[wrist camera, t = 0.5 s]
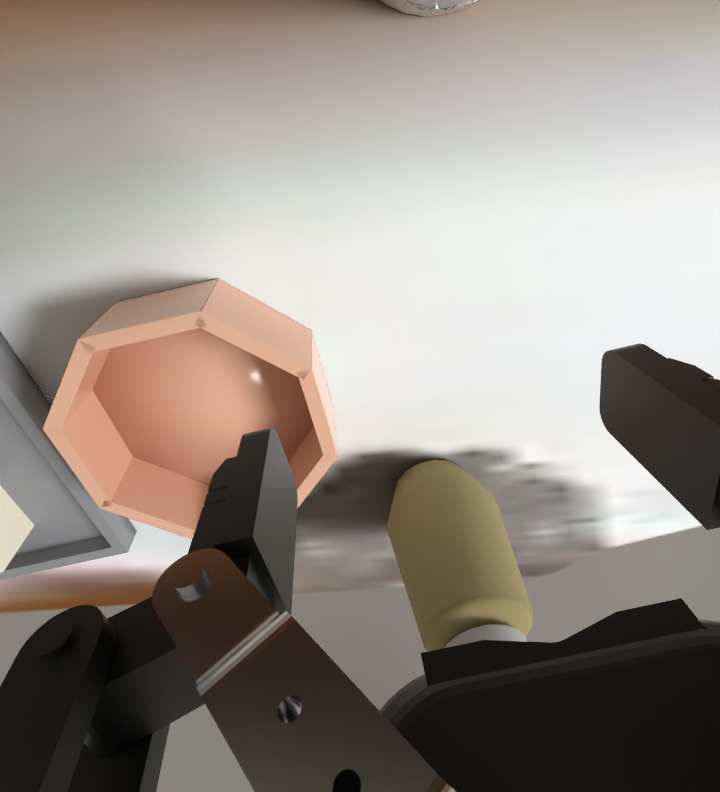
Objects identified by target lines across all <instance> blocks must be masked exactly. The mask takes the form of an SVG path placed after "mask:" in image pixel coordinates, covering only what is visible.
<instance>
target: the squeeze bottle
mask: <svg viewBox="0 0 720 792" xmlns="http://www.w3.org/2000/svg"><path fill="white" fill-rule="evenodd" d="M387 531H388V534H389V537H390V540H391V543H392V547H393V550H394V553H395V556H396V559H397V562H398V566H399V569H400V572H401V575H402V578H403V581H404V584H405V588H406V591H407V594H408V597H409V600H410V603H411V607H412V610H413V613H414V616H415V619H416V622H417V626H418V629H419V632H420V635H421V638H422V641H423V644H424V648H425V649H426V650H428V651H433V650H438V649H443V648H447V647H452V646H457V645H462V644H466V643H471V642H476V641H481V640H499V641H522V642H527V640H526V635H527V634H528V632H529V630H530V629H531V626H532V625H533V611H532V607H531V605H530V602H529V598H528V595H527V592H526V589H525V586H524V583H523V580H522V577H521V574H520V571H519V568H518V565H517V562H516V559H515V556H514V553H513V550H512V547H511V544H510V541H509V538H508V535H507V532H506V529H505V526H504V523H503V520H502V517H501V514H500V511H499V508H498V505H497V502H496V500H495V499H494V498H493V497H492V495H491V494H490V493H489V492H488V491H487V489H486V488H485V487H484V486H482V485H481V484H480V483H479V482H478V481H477V480H476V479H474V478H473V477H472V476H471V475H470V474H469V473H468V472H467V471H465V470H464V469H463V468H462V467H461V466H459V465H457V464H455V463H453V462H450V461H448V460H430V461H426V462H422V463H418V464H417V465H415V466H413V467H412V468H410V469H408V470H407V471H405V473H404V474H403V475H402V476H401V477H400V479H399V480H398V481H397V485H396V489H395V493H394V497H393V502H392V506H391V511H390V515H389V520H388V524H387Z"/></svg>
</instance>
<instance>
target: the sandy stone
mask: <svg viewBox="0 0 720 792" xmlns="http://www.w3.org/2000/svg"><path fill="white" fill-rule="evenodd" d="M33 527H34V524H33V523H32V522H31V521H30V520H29V518H28V517H27V516H26V515H25V514H24V512H23V511H22V510H21V509H20V508H19V507H18V505H17V504H16V503H15V502H14V501H13V500H12V498H11V497H10V496H9V495H8V494H7V493H6V491H5V490H4V489H3V488H2V487H1V485H0V573H1V572H4V570H5V569H6V567H7V566H8V564H9V563H10V561H11V560H12V558H13V557H14V555H15V554H16V552H17V551H18V549H19V548H20V546H21V545H22V543H23V542H24V540H25V539H26V537H27V536H28V534H29V533H30V531H31V530H32V528H33Z"/></svg>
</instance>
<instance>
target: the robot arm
mask: <svg viewBox="0 0 720 792" xmlns="http://www.w3.org/2000/svg"><path fill="white" fill-rule="evenodd" d="M380 1H382V2H383V3H384V4H386V5H388V6H390V7H392V8H395V9H397V10H399V11H401V12H403V13H407V14H413V15H419V16H424V17H427V16H437V15H446V14H449V13H452V12H455V11H457V10H460V9H462V8H465V7H468V6H469V5H471V4H472V3H474V2H476V1H479V0H380ZM600 414H601V418H602V421H603V423H604V426H605V427H606V429H607V430H608V432H609V433H610V434H611V435H612V436H613V437H614V438H615V439H616V440H617V441H618V442H619V443H620V444H621V445H622V446H623V447H624V448H625V449H626V450H627V451H628V452H629V453H630V454H631V455H632V456H633V457H634V458H635V459H636V460H637V461H638V462H639V463H640V464H641V465H642V466H643V467H644V468H645V469H646V470H647V471H648V472H649V473H650V474H651V475H652V476H653V477H654V478H655V479H656V480H657V481H659V482H660V483H661V484H662V485H663V486H664V487H665V488H666V489H667V490H668V491H669V492H670V493H671V494H672V495H673V496H674V497H675V498H676V499H677V500H678V501H679V502H680V503H681V504H682V505H683V506H684V507H685V508H686V509H687V510H688V511H689V512H690V513H691V514H692V515H693V516H694V517H695V518H696V519H697V520H698V521H699V522H700V523H701V524H702V525H703V526H704V527H705V528H706V529H707V530H709V529H714V528H719V527H720V380H718V379H715V380H714V377H713V376H711V375H710V374H708V373H706V372H705V371H703V370H701V369H699V368H698V367H696V366H694V365H691V364H687V363H684V362H681V361H677V360H674V359H671V358H668V359H667V358H665V357H664V356H662V355H661V354H659V353H657V352H656V351H654V350H652V349H651V348H649V347H648V346H646V345H644V344H635V345H631V346H627V347H622V348H618V349H614V350H609V351H607V352H605V354H604V355H603V358H602V368H601V389H600ZM297 503H298V497H297V489H296V484H295V480H294V476H293V474H292V471H291V468H290V465H289V463H288V460H287V457H286V455H285V452H284V449H283V447H282V444H281V441H280V439H279V436H278V434H277V432H276V430H275V429H274V428H273V427H272V428H268V429H263V430H259V431H255V432H250V433H246V434H243V435H242V438H241V441H240V445H239V449H238V453H237V456H236V457H232V458H227V459H225V460H224V462H223V463H222V464H221V465H220V467H219V468H218V469H217V470H216V471H215V473H214V474H213V476H212V479H211V483H210V486H209V489H208V493H207V495H206V498H205V501H204V507H203V508H202V511H201V514H200V517H199V520H198V523H197V526H196V530H195V533H194V536H193V539H192V542H191V545H190V548H189V552H188V554H187V555H185V556H183V557H181V558H180V559H178V560H177V561H176V562H174V563H173V564H172V565H171V566H169V567H168V568H167V569H166V570H165V572H164V573H163V574H162V575H161V576H160V578H159V579H158V581H157V583H156V585H155V587H154V590H153V593H152V597H150V598H148V599H146V600H144V601H142V602H140V603H138V604H136V605H134V606H132V607H130V608H128V609H126V610H124V611H122V612H120V613H118V614H116V615H114V616H112V617H110V618H108V619H107V618H106V617H105V616H104V615H103V614H102V612H101V611H100V610H99V609H98V608H97V607H95V606H91V605H81V606H76V607H73V608H70V609H68V610H66V611H64V612H61V613H60V614H58V615H56V616H55V617H53V618H52V619H50V620H49V621H47V622H46V623H45V624H43V626H41V627H40V628H39V629H38V630H37V631H36V632H34V634H33V635H32V636H31V637H30V638H29V639H28V640H27V641H26V643H25V644H24V645H23V647H22V648H21V650H20V651H19V653H18V655H17V656H16V658H15V660H14V662H13V664H12V666H11V668H10V669H9V671H8V673H7V675H6V677H5V679H4V681H3V682H2V684H1V686H0V792H156V789H157V784H158V779H159V774H160V770H161V765H162V759H163V754H164V750H165V745H166V740H167V735H168V731H169V726H170V723H172V722H173V721H175V720H177V719H179V718H180V717H182V716H184V715H186V714H187V713H189V712H191V711H193V710H194V709H196V708H198V707H200V706H201V705H203V704H206V706H207V708H208V710H209V711H210V713H211V715H212V717H213V718H214V721H215V722H216V724H217V726H218V728H219V730H220V731H221V733H222V735H223V737H224V738H225V740H226V742H227V744H228V745H229V747H230V749H231V751H232V753H233V754H234V756H235V758H236V760H237V761H238V763H239V765H240V767H241V769H242V770H243V772H244V774H245V776H246V777H247V779H248V781H249V783H250V785H251V786H252V788H253V790H254V792H720V622H716V621H709V620H698V619H697V618H696V616H695V615H694V614H693V612H692V611H691V610H690V609H689V608H688V606H687V605H686V604H685V602H684V601H683V600H682V599H676V600H672V601H666V602H662V603H657V604H653V605H648V606H643V607H638V608H633V609H628V610H624V611H619V612H615V613H614V614H612V615H610V616H608V617H606V618H604V619H602V620H600V621H598V622H597V623H595V624H593V625H591V626H589V627H587V628H585V629H583V630H582V631H580V632H578V633H576V634H574V635H572V636H570V637H568V638H567V639H565V640H562V641H560V642H555V643H544V642H522V641H499V640H481V641H476V642H471V643H466V644H462V645H457V646H452V647H447V648H443V649H438V650H433V651H428V652H423V653H421V656H422V661H423V666H424V671H425V674H424V675H422V676H420V677H418V678H416V679H414V680H413V681H411V682H410V683H408V684H407V685H406V686H404V687H403V688H402V689H400V690H399V691H398V692H397V693H396V694H395V695H394V696H392V697H391V698H390V699H389V700H388V701H387V702H386V704H385V705H384V706H383V707H382V708H381V710H380V711H379V710H378V709H377V708H376V706H374V705H373V703H372V702H371V701H370V700H369V699H368V698H367V697H366V696H365V695H364V694H363V693H362V691H361V690H360V689H359V688H358V687H357V686H356V685H355V684H354V683H353V682H352V681H351V680H350V678H349V677H348V676H347V675H346V674H345V673H344V672H343V671H342V670H341V669H340V668H339V666H338V665H337V664H336V663H335V662H334V661H333V660H332V659H331V658H330V657H329V656H328V655H327V653H326V652H325V651H324V650H323V649H322V648H321V647H320V646H319V645H318V644H317V643H316V642H315V641H314V639H313V638H312V637H311V636H310V635H309V634H308V633H307V632H306V631H305V630H304V629H303V628H302V626H300V624H299V623H298V622H297V621H296V620H295V619H294V618H293V617H292V616H291V606H292V589H293V572H294V555H295V537H296V520H297Z"/></svg>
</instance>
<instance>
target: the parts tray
mask: <svg viewBox="0 0 720 792" xmlns="http://www.w3.org/2000/svg"><path fill="white" fill-rule="evenodd" d="M50 409H51V405H50V404H49V402H48V401H47V399H46V398H45V397H44V395H43V394H42V392H41V391H40V389H39V388H38V386H37V385H36V383H35V382H34V380H33V379H32V378H31V376H30V375H29V373H28V372H27V370H26V369H25V367H24V366H23V364H22V363H21V361H20V360H19V358H18V357H17V356H16V354H15V353H14V351H13V350H12V348H11V347H10V345H9V344H8V342H7V341H6V339H5V338H4V337H3V335H2V334H1V332H0V485H1V487H2V488H3V489H4V490H5V491H6V493H7V494H8V495H9V496H10V497H11V498H12V500H13V501H14V502H15V503H16V504H17V505H18V507H19V508H20V509H21V510H22V511H23V512H24V514H25V515H26V516H27V517H28V518H29V520H30V521H31V522H32V523H33V524H34V527H33V528H32V530H31V531H30V533H29V534H28V536H27V537H26V539H25V540H24V542H23V543H22V545H21V546H20V548H19V549H18V551H17V552H16V554H15V555H14V557H13V558H12V560H11V561H10V563H9V564H8V566H7V567H6V569H5V570H4V572H1V573H0V580H1V579H6V578H10V577H15V576H20V575H24V574H29V573H34V572H38V571H43V570H48V569H52V568H57V567H61V566H66V565H71V564H75V563H80V562H85V561H89V560H94V559H99V558H103V557H108V556H113V555H117V554H122V553H127V552H128V551H129V548H130V546H131V543H132V541H133V539H134V536H135V534H136V530H135V528H134V527H133V525H132V524H131V522H130V521H129V519H128V518H127V517H124V516H121V515H118V514H115V513H112V512H109V511H106V510H103V509H100V508H99V507H98V505H97V504H96V502H95V501H94V500H93V498H92V497H91V496H90V494H89V493H88V491H87V490H86V489H85V487H84V486H83V484H82V483H81V482H80V480H79V479H78V477H77V476H76V475H75V473H74V472H73V470H72V469H71V468H70V466H69V465H68V463H67V462H66V461H65V459H64V458H63V457H62V455H61V454H60V452H59V451H58V450H57V448H56V447H55V445H54V444H53V443H52V441H51V440H50V438H49V437H48V436H47V434H46V433H45V431H44V430H43V427H44V424H45V422H46V419H47V417H48V414H49V412H50Z"/></svg>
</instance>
